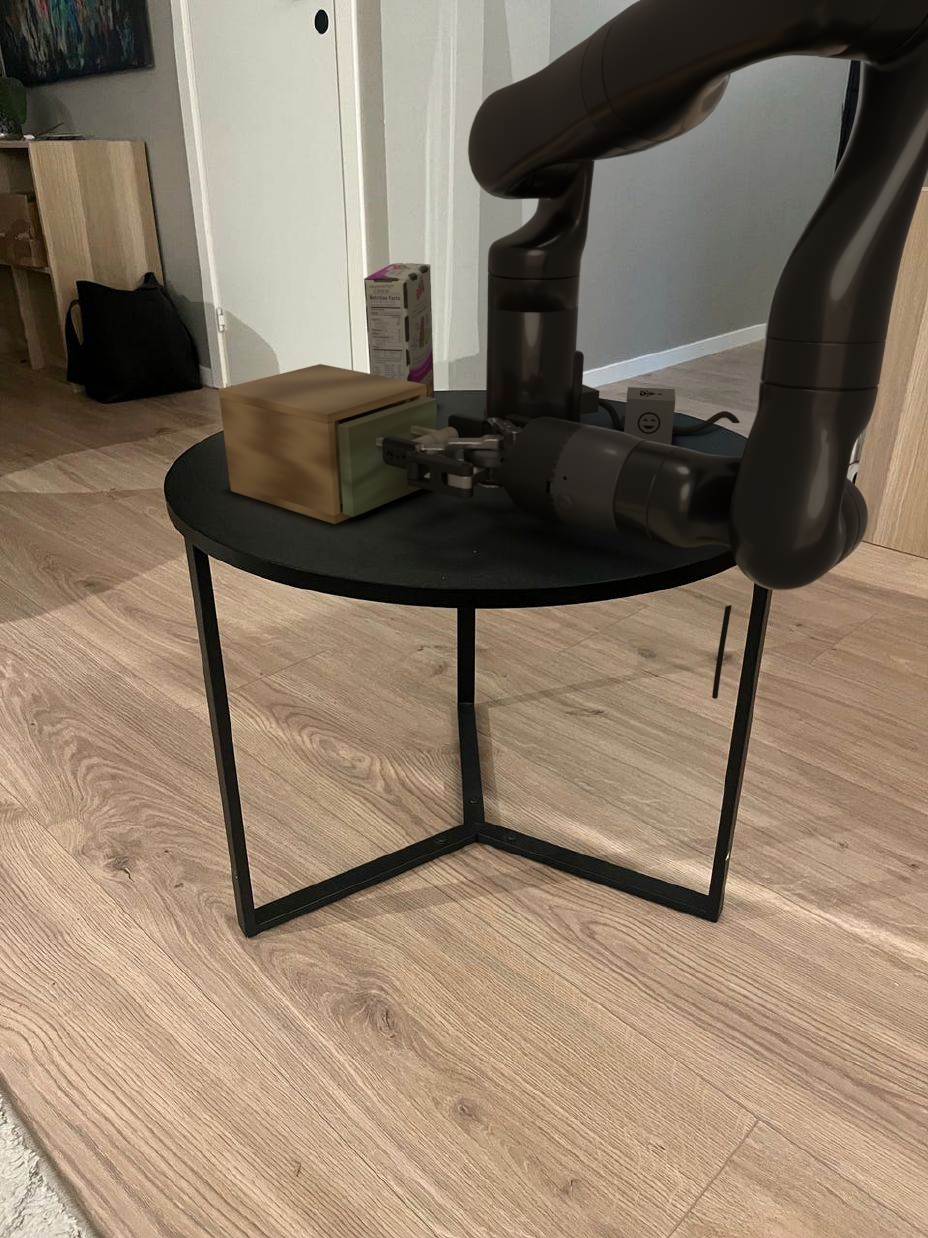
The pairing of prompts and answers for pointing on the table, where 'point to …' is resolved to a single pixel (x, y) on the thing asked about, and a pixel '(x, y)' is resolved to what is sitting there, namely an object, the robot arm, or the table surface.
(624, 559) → the table surface
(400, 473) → the drawer
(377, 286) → the candy bar box
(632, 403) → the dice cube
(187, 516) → the table surface
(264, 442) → the cabinet
